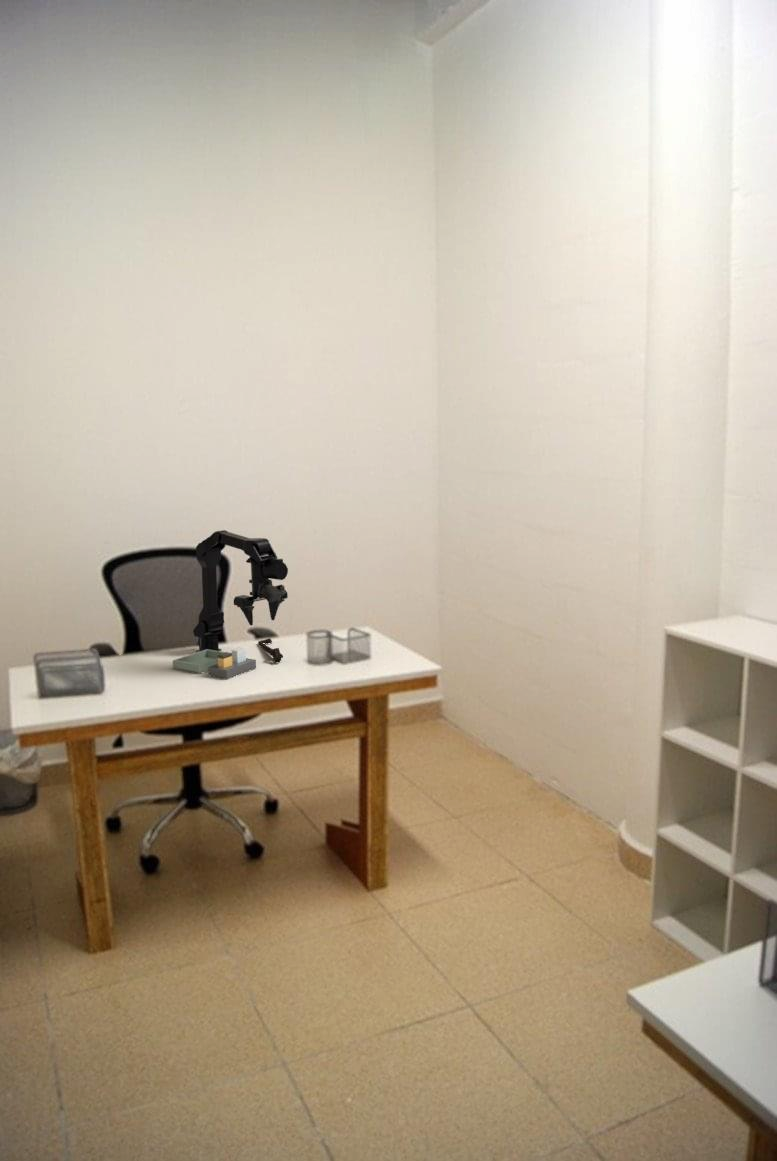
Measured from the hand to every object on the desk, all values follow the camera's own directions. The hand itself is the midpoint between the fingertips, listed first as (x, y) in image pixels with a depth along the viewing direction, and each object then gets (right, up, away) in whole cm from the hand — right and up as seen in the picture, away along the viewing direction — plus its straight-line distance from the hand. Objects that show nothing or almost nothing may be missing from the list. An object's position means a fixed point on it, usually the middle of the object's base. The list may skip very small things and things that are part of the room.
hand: (262, 622), depth 297 cm
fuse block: (-9, -16, -6) cm, 19 cm away
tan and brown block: (-11, -16, -9) cm, 21 cm away
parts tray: (-20, -15, +2) cm, 25 cm away
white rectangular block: (-7, -15, -3) cm, 17 cm away
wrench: (+2, -12, +16) cm, 20 cm away
